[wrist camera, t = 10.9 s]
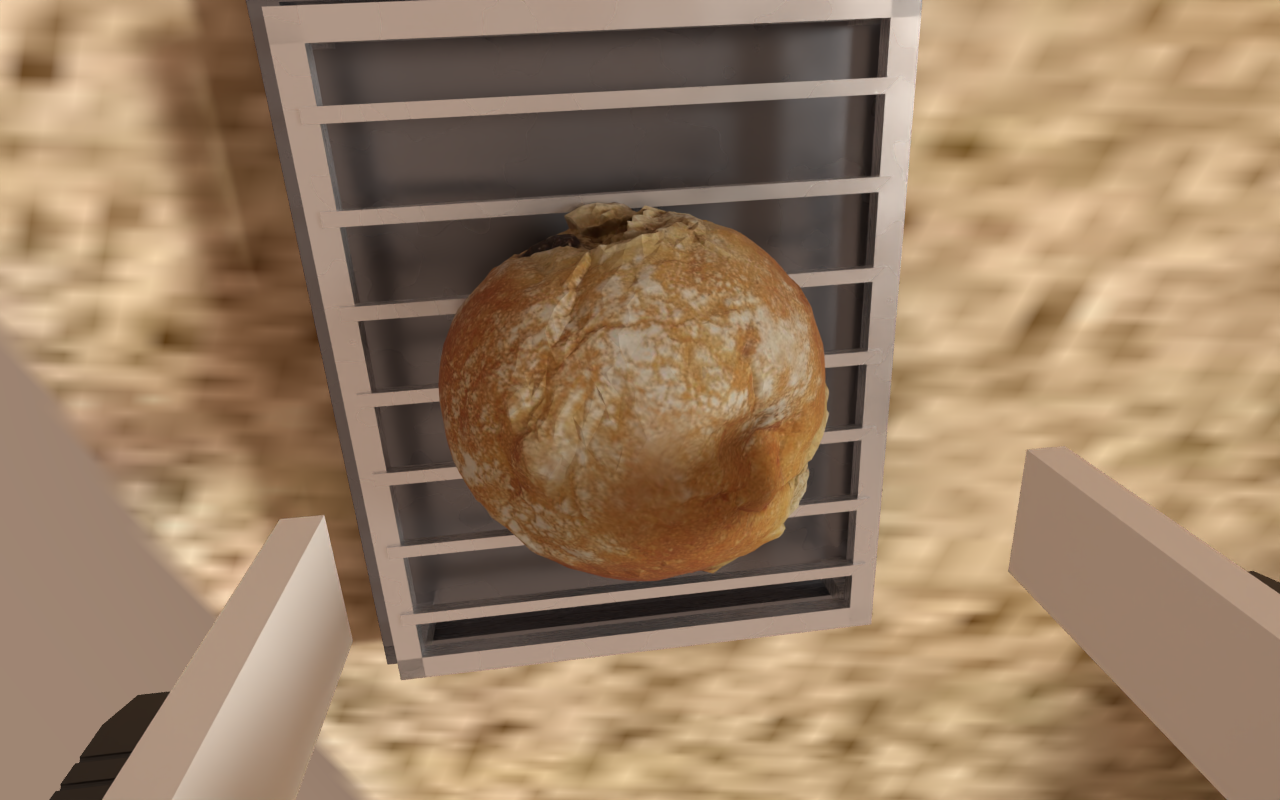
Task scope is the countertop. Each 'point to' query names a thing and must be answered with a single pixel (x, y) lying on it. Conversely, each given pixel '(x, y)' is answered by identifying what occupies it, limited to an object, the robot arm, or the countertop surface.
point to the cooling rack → (534, 210)
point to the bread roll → (636, 394)
